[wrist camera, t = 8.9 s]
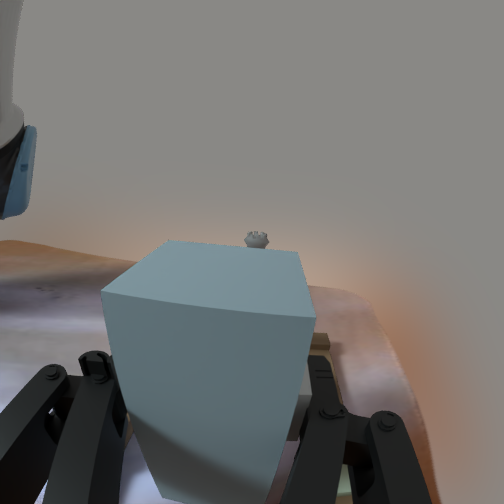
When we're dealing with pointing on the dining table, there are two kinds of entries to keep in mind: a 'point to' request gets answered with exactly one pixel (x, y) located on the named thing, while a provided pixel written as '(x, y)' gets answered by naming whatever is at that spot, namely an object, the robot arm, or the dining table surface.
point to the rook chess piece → (256, 240)
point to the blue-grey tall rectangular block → (211, 364)
